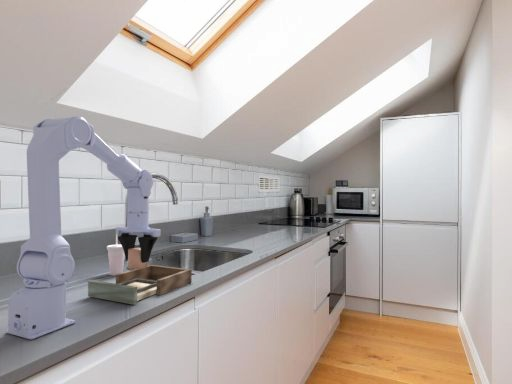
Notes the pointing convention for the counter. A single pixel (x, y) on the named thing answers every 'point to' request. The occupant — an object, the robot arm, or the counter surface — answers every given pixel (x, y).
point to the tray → (122, 290)
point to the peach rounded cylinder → (135, 259)
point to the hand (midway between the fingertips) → (137, 261)
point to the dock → (159, 277)
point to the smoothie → (116, 257)
